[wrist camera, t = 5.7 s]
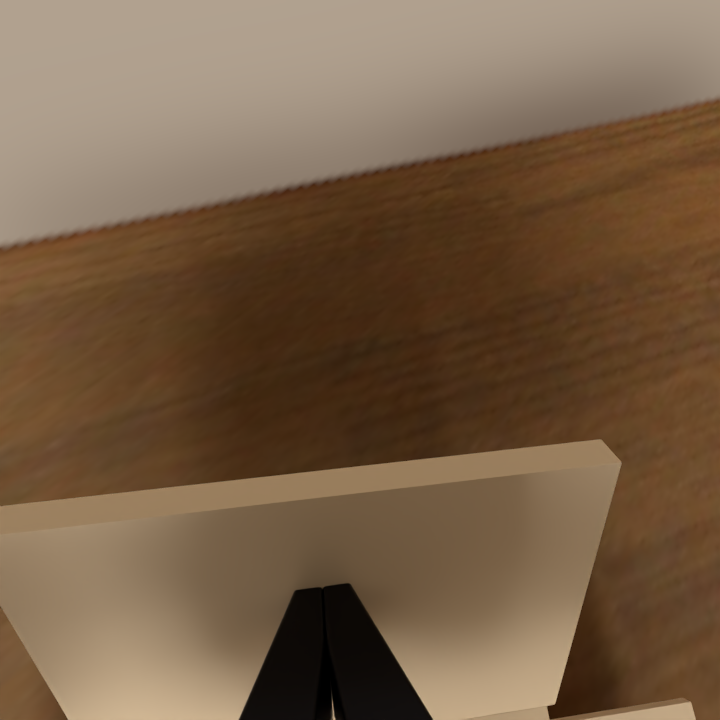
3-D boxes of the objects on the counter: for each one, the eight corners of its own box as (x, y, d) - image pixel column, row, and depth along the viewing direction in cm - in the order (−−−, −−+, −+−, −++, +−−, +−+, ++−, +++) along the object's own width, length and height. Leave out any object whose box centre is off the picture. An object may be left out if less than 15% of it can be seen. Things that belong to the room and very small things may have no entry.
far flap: (555, 704, 11) (621, 462, 8) (102, 777, 10) (-40, 539, 7) (541, 672, 12) (597, 435, 8) (113, 739, 11) (-13, 503, 8)
